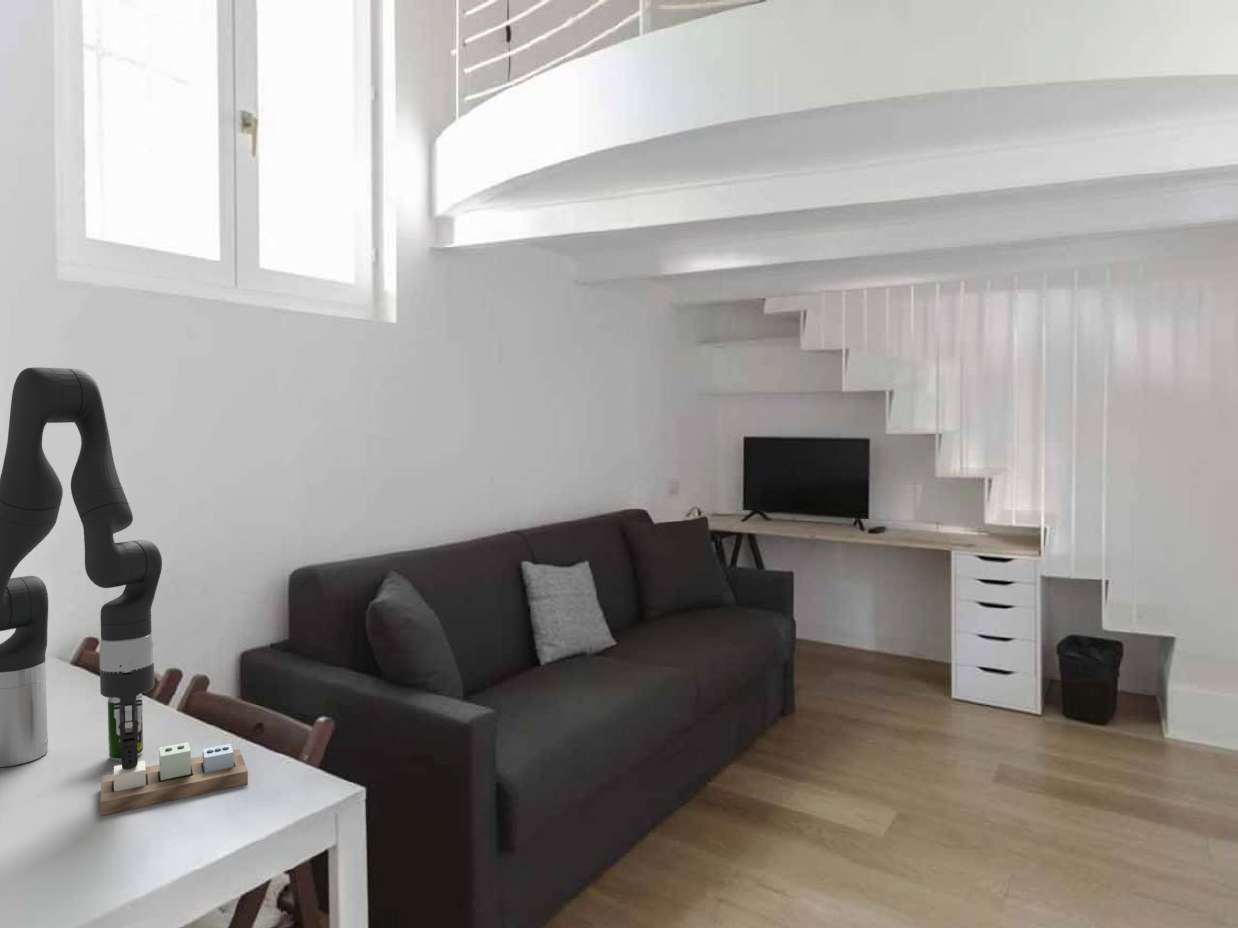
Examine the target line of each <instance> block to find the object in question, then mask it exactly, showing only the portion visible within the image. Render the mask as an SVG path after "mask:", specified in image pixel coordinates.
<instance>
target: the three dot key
mask: <svg viewBox="0 0 1238 928" xmlns="http://www.w3.org/2000/svg"><path fill="white" fill-rule="evenodd" d="M233 750H234V749H233V746H232V744H231V743H228V744H227V743H226V744H221V745H215V746H212V747H211V746H210V747H206V748H202V756H203V773H208V772H212V771H217V770H222V769H227V768H232V767H234V755H233Z"/></svg>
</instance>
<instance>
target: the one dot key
mask: <svg viewBox="0 0 1238 928" xmlns="http://www.w3.org/2000/svg"><path fill="white" fill-rule="evenodd" d="M145 767H146V760H140V761H138V765H137V766H136V767H134V768H129V769H123V768H122V764H117V765H114V766H113V774H114V792H116V791H121V790H126V789H130V788H135V787H140V786H145V785H146V768H145Z"/></svg>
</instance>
